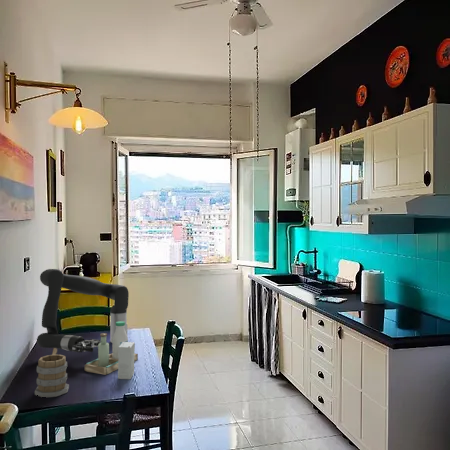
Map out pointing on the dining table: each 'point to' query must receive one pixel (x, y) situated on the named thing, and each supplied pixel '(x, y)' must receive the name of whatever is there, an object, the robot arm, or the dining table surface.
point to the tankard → (52, 375)
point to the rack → (106, 370)
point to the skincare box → (126, 360)
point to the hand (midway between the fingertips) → (98, 347)
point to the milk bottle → (118, 338)
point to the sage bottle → (103, 351)
